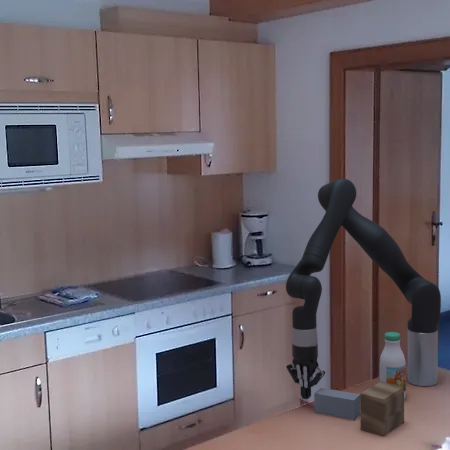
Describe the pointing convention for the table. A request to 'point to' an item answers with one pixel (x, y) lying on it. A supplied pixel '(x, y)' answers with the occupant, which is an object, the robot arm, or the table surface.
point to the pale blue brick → (337, 403)
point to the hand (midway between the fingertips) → (306, 398)
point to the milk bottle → (393, 362)
